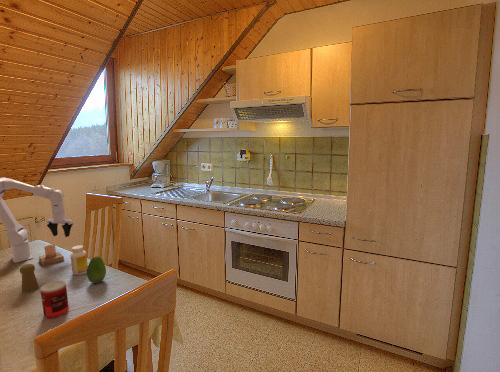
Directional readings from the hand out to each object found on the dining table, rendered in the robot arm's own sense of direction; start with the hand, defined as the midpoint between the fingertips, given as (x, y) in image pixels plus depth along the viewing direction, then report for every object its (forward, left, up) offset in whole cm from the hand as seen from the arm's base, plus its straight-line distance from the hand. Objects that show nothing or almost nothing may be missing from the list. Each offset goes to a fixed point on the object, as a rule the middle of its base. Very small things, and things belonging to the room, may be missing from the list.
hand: (61, 236), depth 161 cm
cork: (+32, -21, -11) cm, 40 cm away
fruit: (+47, +1, -11) cm, 48 cm away
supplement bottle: (+31, -1, -11) cm, 33 cm away
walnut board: (+6, -7, -10) cm, 14 cm away
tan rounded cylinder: (+6, -7, -8) cm, 12 cm away
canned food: (+60, -18, -11) cm, 64 cm away
